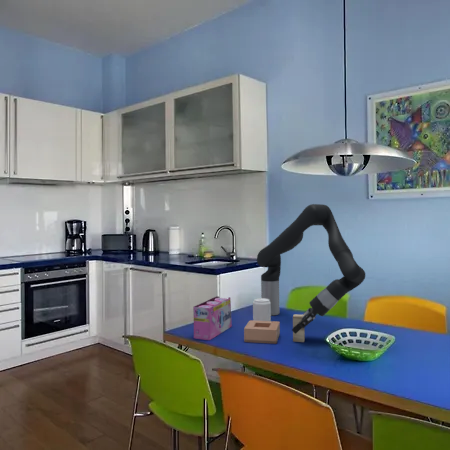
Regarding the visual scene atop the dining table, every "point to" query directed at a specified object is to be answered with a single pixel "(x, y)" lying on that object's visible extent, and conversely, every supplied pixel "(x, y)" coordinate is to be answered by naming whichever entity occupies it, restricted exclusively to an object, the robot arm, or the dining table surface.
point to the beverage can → (261, 309)
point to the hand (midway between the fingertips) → (294, 329)
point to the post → (301, 333)
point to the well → (262, 332)
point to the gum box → (212, 318)
